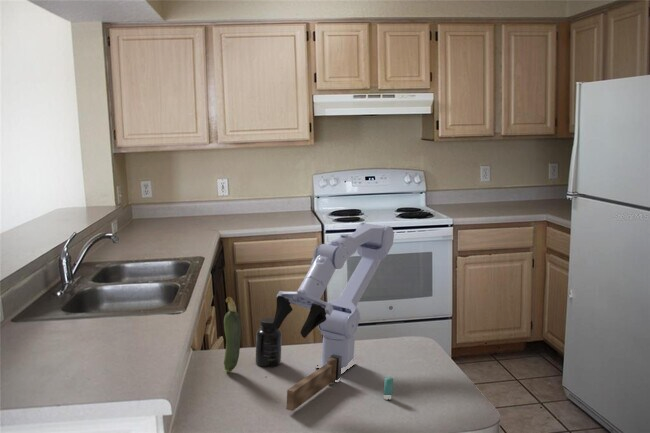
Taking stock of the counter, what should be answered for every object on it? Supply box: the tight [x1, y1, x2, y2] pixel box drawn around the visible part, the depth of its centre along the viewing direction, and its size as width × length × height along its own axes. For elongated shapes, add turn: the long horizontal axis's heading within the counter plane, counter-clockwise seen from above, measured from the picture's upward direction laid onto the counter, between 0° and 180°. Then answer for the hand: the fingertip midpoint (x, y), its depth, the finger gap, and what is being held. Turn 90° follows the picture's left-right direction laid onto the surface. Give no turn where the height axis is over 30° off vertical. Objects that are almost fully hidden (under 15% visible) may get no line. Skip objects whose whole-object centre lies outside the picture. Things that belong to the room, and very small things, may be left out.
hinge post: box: [330, 354, 342, 380], centre depth 147 cm, size 2×2×6 cm
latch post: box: [383, 376, 394, 396], centre depth 139 cm, size 2×2×5 cm
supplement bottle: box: [254, 317, 283, 369], centre depth 156 cm, size 7×7×12 cm
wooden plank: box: [285, 358, 337, 412], centre depth 137 cm, size 21×2×6 cm, turn 152°
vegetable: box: [223, 296, 242, 373], centre depth 148 cm, size 4×4×20 cm
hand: (288, 331), depth 135 cm, fingers open, 7 cm apart
